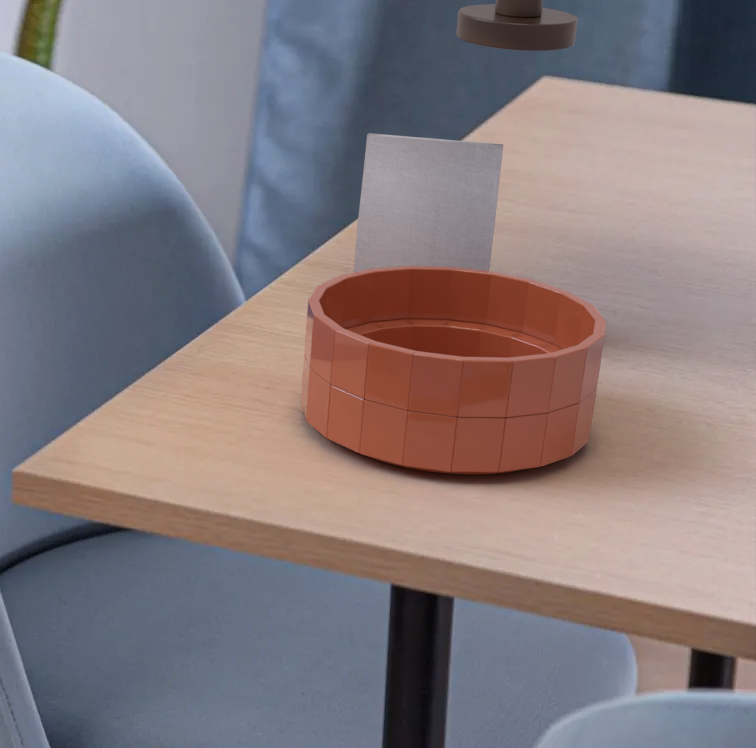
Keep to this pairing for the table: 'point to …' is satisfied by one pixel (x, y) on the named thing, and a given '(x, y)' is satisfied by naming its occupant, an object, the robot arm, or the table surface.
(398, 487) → the table surface
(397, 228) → the grey rectangular block
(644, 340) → the table surface
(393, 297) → the bowl
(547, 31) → the rod
